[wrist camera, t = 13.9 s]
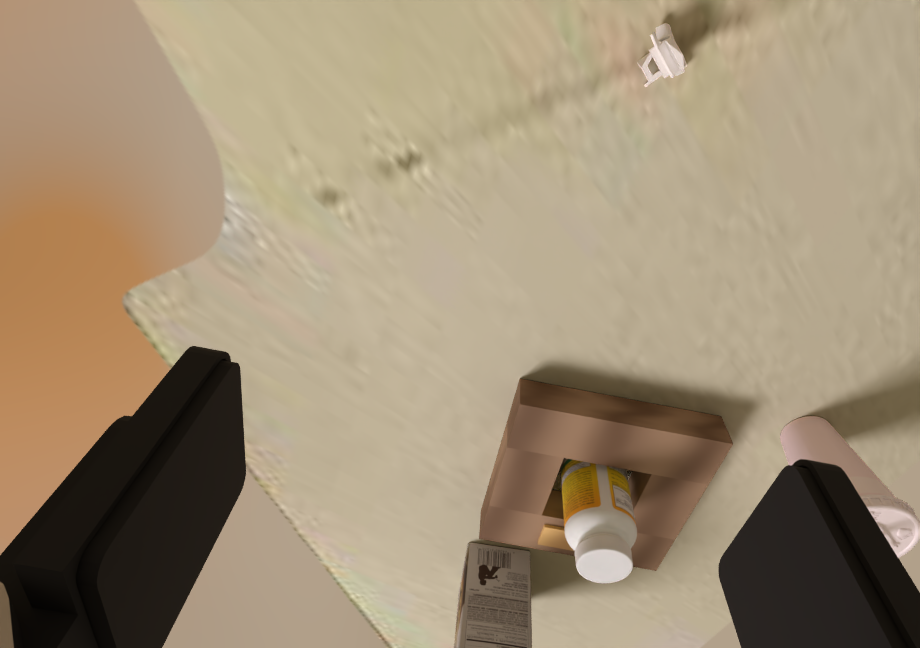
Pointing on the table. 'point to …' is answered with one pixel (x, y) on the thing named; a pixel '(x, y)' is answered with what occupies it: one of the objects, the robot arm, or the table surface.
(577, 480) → the supplement bottle
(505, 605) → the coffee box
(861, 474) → the smoothie
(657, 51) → the adhesive hook
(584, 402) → the socket block
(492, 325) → the table surface
